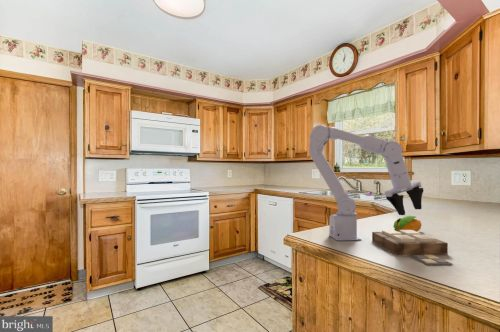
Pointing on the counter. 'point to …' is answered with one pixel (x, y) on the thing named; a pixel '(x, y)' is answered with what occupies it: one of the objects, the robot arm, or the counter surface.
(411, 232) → the button
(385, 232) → the button
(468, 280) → the counter surface
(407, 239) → the button
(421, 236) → the button
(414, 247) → the button board
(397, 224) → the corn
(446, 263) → the card
